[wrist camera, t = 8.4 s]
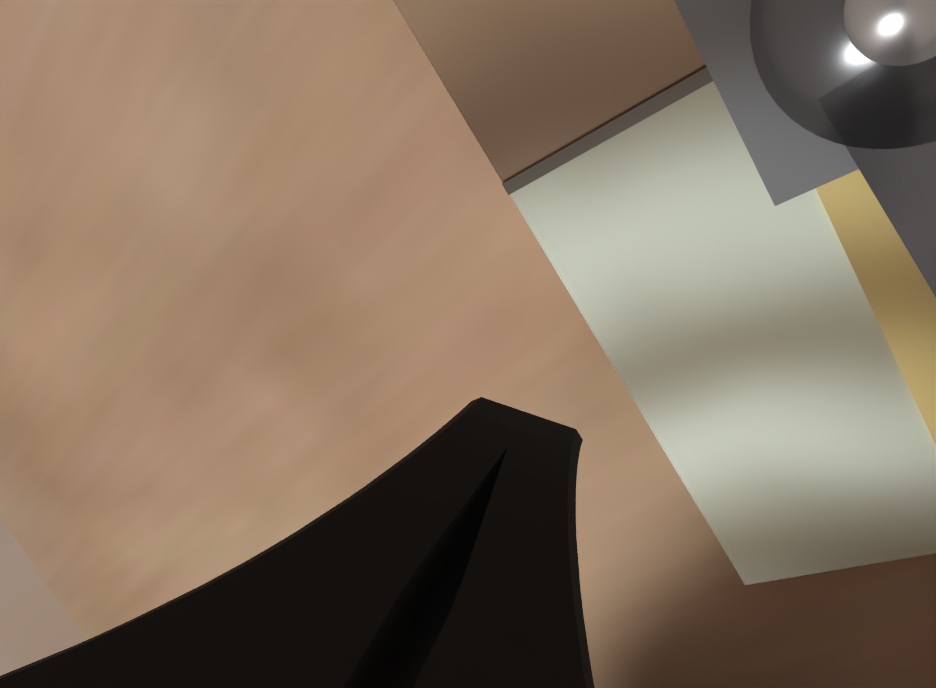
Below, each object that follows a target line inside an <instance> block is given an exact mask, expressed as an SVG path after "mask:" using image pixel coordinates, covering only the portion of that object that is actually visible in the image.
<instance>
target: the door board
mask: <svg viewBox="0 0 936 688" xmlns="http://www.w3.org/2000/svg"><path fill="white" fill-rule="evenodd" d="M393 1H394V3H395V4H396V6H397V8H398V9H399V11H400V13H401V14H402V16H403V18H404V19H405V21H406V23H407V24H408V26H409V28H410V29H411V31H412V33H413V34H414V36H415V38H416V39H417V41H418V43H419V44H420V46H421V47H422V49H423V51H424V52H425V54H426V56H427V57H428V59H429V61H430V62H431V64H432V66H433V67H434V69H435V71H436V72H437V74H438V76H439V77H440V79H441V81H442V82H443V84H444V86H445V87H446V89H447V91H448V92H449V94H450V96H451V97H452V99H453V101H454V102H455V104H456V106H457V107H458V109H459V111H460V112H461V114H462V116H463V117H464V119H465V121H466V122H467V124H468V126H469V127H470V129H471V131H472V132H473V134H474V136H475V137H476V139H477V141H478V142H479V144H480V146H481V147H482V149H483V151H484V152H485V154H486V156H487V157H488V159H489V160H490V162H491V164H492V165H493V167H494V169H495V170H496V172H497V174H498V175H499V177H500V179H501V180H502V182H503V184H502V185H503V186H504V188H505V190H506V191H507V193H508V195H511V197H512V199H513V200H514V202H515V204H516V205H517V207H518V209H519V210H520V212H521V214H522V215H523V217H524V219H525V220H526V222H527V224H528V225H529V227H530V229H531V230H532V232H533V234H534V235H535V237H536V239H537V240H538V242H539V244H540V245H541V247H542V249H543V250H544V252H545V254H546V255H547V257H548V259H549V260H550V262H551V264H552V265H553V267H554V268H555V270H556V272H557V273H558V275H559V277H560V278H561V280H562V282H563V283H564V285H565V287H566V288H567V290H568V292H569V293H570V295H571V297H572V298H573V300H574V302H575V303H576V305H577V307H578V308H579V310H580V312H581V313H582V315H583V317H584V318H585V320H586V322H587V323H588V325H589V327H590V328H591V330H592V332H593V333H594V335H595V337H596V338H597V340H598V342H599V343H600V345H601V347H602V348H603V350H604V352H605V353H606V355H607V357H608V358H609V360H610V362H611V363H612V365H613V367H614V368H615V370H616V372H617V373H618V375H619V377H620V378H621V380H622V381H623V383H624V385H625V386H626V388H627V390H628V391H629V393H630V395H631V396H632V398H633V400H634V401H635V403H636V405H637V406H638V408H639V410H640V411H641V413H642V415H643V416H644V418H645V420H646V421H647V423H648V425H649V426H650V428H651V430H652V431H653V433H654V435H655V436H656V438H657V440H658V441H659V443H660V445H661V446H662V448H663V450H664V451H665V453H666V455H667V456H668V458H669V460H670V461H671V463H672V465H673V466H674V468H675V470H676V471H677V473H678V475H679V476H680V478H681V480H682V481H683V483H684V485H685V486H686V488H687V489H688V491H689V493H690V494H691V496H692V498H693V499H694V501H695V503H696V504H697V506H698V508H699V509H700V511H701V513H702V514H703V516H704V518H705V519H706V521H707V523H708V524H709V526H710V528H711V529H712V531H713V533H714V534H715V536H716V538H717V539H718V541H719V543H720V544H721V546H722V548H723V549H724V551H725V553H726V554H727V556H728V558H729V559H730V561H731V563H732V564H733V566H734V568H735V569H736V571H737V573H738V574H739V576H740V578H741V579H742V581H743V583H744V584H745V585H750V584H756V583H762V582H768V581H774V580H780V579H785V578H791V577H797V576H803V575H809V574H815V573H821V572H827V571H833V570H839V569H845V568H851V567H857V566H863V565H869V564H875V563H881V562H887V561H893V560H899V559H905V558H911V557H917V556H923V555H929V554H935V553H936V297H935V295H934V294H933V292H932V290H931V289H930V287H929V285H928V284H927V282H926V280H925V279H924V277H923V275H922V274H921V272H920V270H919V269H918V267H917V265H916V264H915V262H914V260H913V259H912V257H911V255H910V254H909V252H908V250H907V248H906V247H905V245H904V243H903V242H902V240H901V238H900V237H899V235H898V233H897V232H896V230H895V228H894V227H893V225H892V223H891V222H890V220H889V218H888V217H887V215H886V213H885V212H884V210H883V208H882V207H881V205H880V203H879V202H878V200H877V198H876V197H875V195H874V193H873V192H872V190H871V188H870V187H869V185H868V183H867V181H866V180H865V178H864V176H863V175H862V173H861V171H860V170H859V168H858V166H857V165H856V163H855V161H854V160H853V158H852V156H851V155H850V153H849V151H848V150H847V148H846V146H845V145H842V144H838V143H834V142H832V141H829V140H827V139H824V138H821V137H819V136H817V135H815V134H813V133H811V132H810V131H808V130H806V129H804V128H803V127H801V126H800V125H799V124H797V123H796V122H795V121H793V120H792V119H791V118H789V117H788V116H787V115H786V113H785V112H784V111H783V110H782V109H781V108H780V107H779V106H778V105H777V104H776V103H775V101H774V100H773V98H772V97H771V96H770V94H769V93H768V91H767V89H766V88H765V86H764V84H763V82H762V80H761V78H760V76H759V73H758V70H757V67H756V64H755V61H754V57H753V52H752V47H751V41H750V10H751V0H393Z"/></svg>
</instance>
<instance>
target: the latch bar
mask: <svg viewBox="0 0 936 688" xmlns="http://www.w3.org/2000/svg"><path fill="white" fill-rule="evenodd" d="M750 41H751V47H752V52H753V57H754V61H755V64H756V67H757V70H758V73H759V76H760V78H761V80H762V82H763V84H764V86H765V88H766V89H767V91H768V93H769V94H770V96H771V97H772V98H773V100H774V101H775V103H776V104H777V105H778V106H779V107H780V108H781V109H782V110H783V111H784V112H785V113H786V115H787V116H788V117H789V118H791V119H792V120H793V121H795V122H796V123H797V124H799V125H800V126H801V127H803V128H804V129H806V130H808V131H810V132H811V133H813V134H815V135H817V136H819V137H821V138H824V139H827V140H829V141H832V142H834V143H838V144H842V145H845V146H846V148H847V150H848V151H849V153H850V155H851V156H852V158H853V160H854V161H855V163H856V165H857V166H858V168H859V170H860V171H861V173H862V175H863V176H864V178H865V180H866V181H867V183H868V185H869V187H870V188H871V190H872V192H873V193H874V195H875V197H876V198H877V200H878V202H879V203H880V205H881V207H882V208H883V210H884V212H885V213H886V215H887V217H888V218H889V220H890V222H891V223H892V225H893V227H894V228H895V230H896V232H897V233H898V235H899V237H900V238H901V240H902V242H903V243H904V245H905V247H906V248H907V250H908V252H909V254H910V255H911V257H912V259H913V260H914V262H915V264H916V265H917V267H918V269H919V270H920V272H921V274H922V275H923V277H924V279H925V280H926V282H927V284H928V285H929V287H930V289H931V290H932V292H933V294H934V295H935V297H936V0H751V10H750Z"/></svg>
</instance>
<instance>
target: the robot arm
mask: <svg viewBox="0 0 936 688" xmlns="http://www.w3.org/2000/svg"><path fill="white" fill-rule="evenodd" d="M581 443H582V438H581V437H580V435H579V433H578V432H577V430H576V429H574V428H571V427H568V426H565V425H562V424H559V423H556V422H553V421H550V420H547V419H544V418H541V417H538V416H535V415H532V414H529V413H526V412H523V411H520V410H518V409H515V408H512V407H509V406H506V405H503V404H500V403H497V402H494V401H491V400H488V399H485V398H482V397H480V398H478V399H476V400H473V401H471V402H470V403H469V404H468V405H467V406H466V407H465V408H464V409H462V410H461V411H460V412H459V413H458V414H457V415H456V416H455V417H453V418H452V419H451V420H450V421H449V422H448V423H446V424H445V425H444V426H443V427H442V428H441V429H439V430H438V431H437V432H436V433H435V434H433V435H432V436H431V437H430V438H428V439H427V440H426V441H425V442H423V443H422V444H421V445H420V446H418V447H417V448H416V449H415V450H413V451H412V452H411V453H409V454H408V455H407V456H406V457H404V458H403V459H401V460H400V461H399V462H397V463H396V464H395V465H393V466H392V467H391V468H389V469H388V470H387V471H385V472H384V473H382V474H381V475H380V476H378V477H377V478H376V479H374V480H373V481H372V482H370V483H369V484H367V485H366V486H365V487H363V488H362V489H360V490H359V491H358V492H356V493H355V494H353V495H352V496H350V497H349V498H347V499H346V500H344V501H343V502H341V503H340V504H338V505H337V506H335V507H333V508H332V509H330V510H329V511H327V512H326V513H324V514H323V515H321V516H320V517H318V518H317V519H315V520H313V521H312V522H310V523H309V524H307V525H306V526H304V527H303V528H301V529H300V530H298V531H297V532H295V533H293V534H292V535H290V536H288V537H287V538H285V539H283V540H282V541H280V542H278V543H277V544H275V545H273V546H272V547H270V548H268V549H267V550H265V551H263V552H261V553H260V554H258V555H256V556H254V557H253V558H251V559H249V560H247V561H246V562H244V563H242V564H240V565H238V566H237V567H235V568H233V569H231V570H229V571H227V572H225V573H224V574H222V575H220V576H218V577H216V578H214V579H213V580H211V581H209V582H207V583H205V584H203V585H201V586H199V587H197V588H195V589H193V590H191V591H189V592H187V593H185V594H183V595H181V596H179V597H177V598H175V599H173V600H171V601H169V602H167V603H165V604H163V605H161V606H159V607H157V608H155V609H153V610H151V611H149V612H147V613H145V614H143V615H141V616H138V617H136V618H134V619H132V620H130V621H128V622H126V623H124V624H122V625H119V626H117V627H115V628H113V629H111V630H109V631H106V632H104V633H102V634H100V635H98V636H95V637H93V638H91V639H89V640H86V641H84V642H82V643H80V644H77V645H75V646H73V647H70V648H68V649H65V650H63V651H60V652H58V653H55V654H53V655H51V656H48V657H46V658H43V659H41V660H38V661H36V662H33V663H31V664H29V665H26V666H24V667H21V668H19V669H16V670H14V671H11V672H9V673H7V674H4V675H2V676H0V688H594V683H593V677H592V671H591V665H590V659H589V652H588V645H587V638H586V631H585V624H584V617H583V609H582V600H581V591H580V580H579V567H578V554H577V540H576V475H577V464H578V458H579V451H580V447H581Z"/></svg>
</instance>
